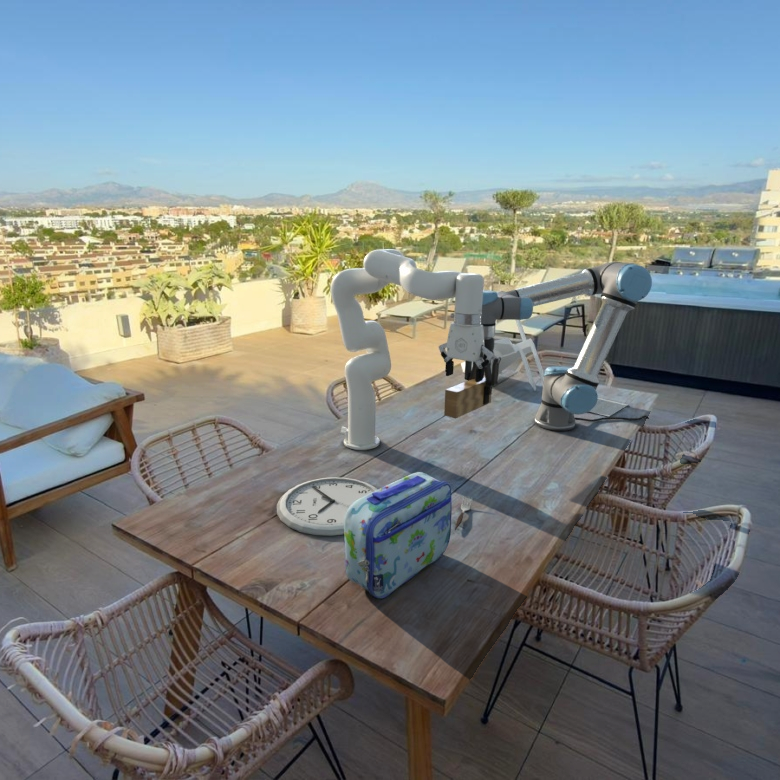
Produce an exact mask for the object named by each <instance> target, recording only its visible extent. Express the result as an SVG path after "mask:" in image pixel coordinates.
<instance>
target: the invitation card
mask: <svg viewBox="0 0 780 780" xmlns="http://www.w3.org/2000/svg"><path fill="white" fill-rule="evenodd" d="M628 406H629V404H627V403H623V402H618V401H614V400H609V399H605V398H601V397H598V400H597V403H596V405H595V406H594V408H593V409H592V410H590V411H589V412H588V413H593V414H596V415H600V416H604V417H612V416H613V415H614V414H616V413H617V412H619V411H621V410H623V409H624V408H626V407H628Z"/></svg>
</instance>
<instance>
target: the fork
mask: <svg viewBox="0 0 780 780" xmlns="http://www.w3.org/2000/svg"><path fill="white" fill-rule="evenodd" d="M465 497H466V495H464V496H463V499H462V502H461V505H460V510H461V511H462V512H461V513H460V514H459V516H458V517H457V520H456V524H455V527H454V531H457V529H458V527H459V526H460V524H461V523H462V521H463V518H464V515H465V514H464V513H465V512H467V511H470V510H471V508H472V501H473V498H471V496H468V497H466V498H465ZM470 498H471V499H470ZM467 499H468V500H467Z"/></svg>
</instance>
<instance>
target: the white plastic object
mask: <svg viewBox="0 0 780 780" xmlns="http://www.w3.org/2000/svg"><path fill="white" fill-rule="evenodd" d="M521 321H522V320H515V322H516V325H517V328H518V331H519V334H520V338H521V341H520V342H517V343H513V342H512V341H511V339H510V338H509V337H505V338H500V339H495V340H494V349H493V352H494V355H495V356H496V357H500V358H501V361H500V363H499V372H498V376H499V375H502V374H503V371H504V370H505V369H507V368H509V367H510V366H511V365H512V364H515V362H517V361H518V360H520V359H521V361H522V364H523V367H524V370H525V373H526V377H527V379H528V382H529V384H530V387H532V389H533V390H534V391H537V390H536V389H537V387H536V383H535V380H534V376H533V373H532V370H531V368H530V365H529V362H528V358H527V355H528V354H531V353H532V355H533V357H534V362H535V364H536V367H537V371H538V374H539V376H540V379H541V382H542V383H543V381H544V373H545V370H544V369H543V366H542V362H541V360H540V356H539V355H538V351H537V347H536V344H535V343H534V341H533V339H532V338H530V337H529V338H527V337H526V334H525V331H524V327H523V325H522V322H521ZM492 361H493V359H492V360H491V373H492V364H493V362H492ZM460 366H461V371H462V373H463V374H464V375H465V361H463V362H461V363H460ZM472 367H473V362H472ZM471 371H472V370H471ZM484 377H485V373H484Z"/></svg>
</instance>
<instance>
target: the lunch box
mask: <svg viewBox="0 0 780 780" xmlns="http://www.w3.org/2000/svg"><path fill="white" fill-rule="evenodd" d="M377 489H378V490H376V491H374V492H372V493H370V494H368V495H366V496H364V497H362V498H360V499H358V500H356V501H355V502H354V503H353V504H352V505H351V506H350V507H349V509H348V511H347V513H346V516H345V520H344V534H343V536H344V537H343V539H344V555H345V556H344V565H345V572H346V576H347V579H348V580H349V581H351V582H353V583H354V584H357V585H359V586H360V587H362V588H363V589H365V590H366V591H368V593H369V594H370V596H373V597H374V598H376V599H385V598H387V597H388V596H390V595H391V594H392V593H393V592H394V591H396V590H397V589H398V588H399V587H400V586H402V585H403V584H405V583H407V582H408V581H409V580H410V579H412V578H414V576H416V575H417V574H418V573H419V572H420V571H421V570H423V569H424V568H426V567H427V566H429V565H431V564H433V563H435V562H436V561H437V560H439V559H440V558H441V557H442V556H443V554H445V552H446V550H447V548H448V546H449V543H450V540H451V535H452V534H451V533H452V515H453V514H452V511H453V510H452V509H453V508H452V507H453V505H452V487H451V484H450V483H449V482H448V481H445V480H438V479H436V478H434V477H432V476H431V475H429V474H427V473H424V472H422V471H417V472H414V473H411V474H409V475H407V476H404V477H401V478H399V479H397V480H395V481H393V482H391V483H388V484H386V485H385V486H383V487H380V488H377Z"/></svg>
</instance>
